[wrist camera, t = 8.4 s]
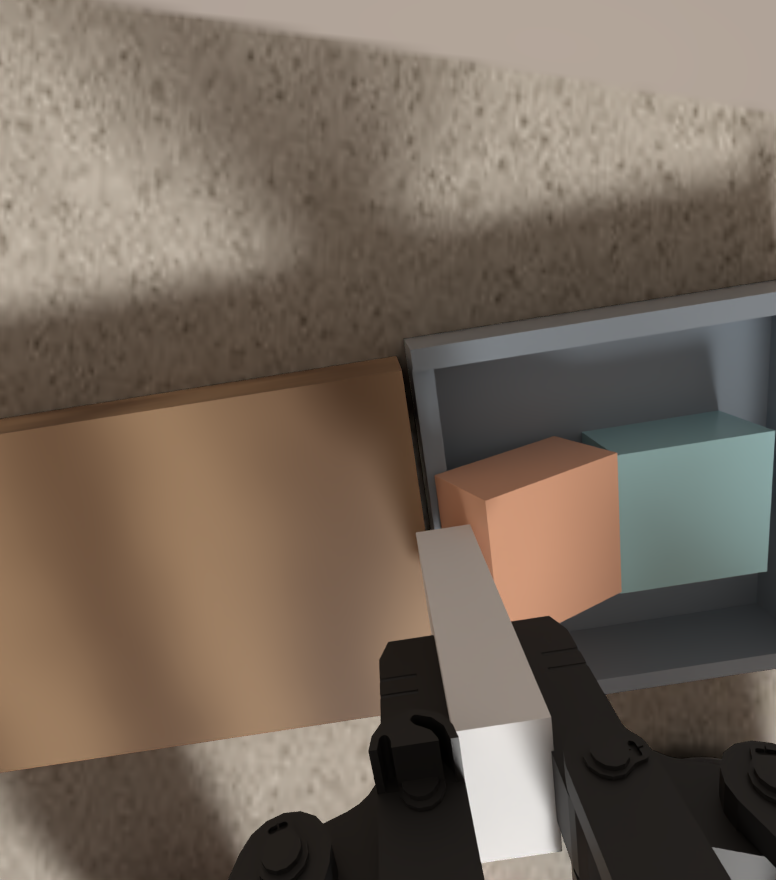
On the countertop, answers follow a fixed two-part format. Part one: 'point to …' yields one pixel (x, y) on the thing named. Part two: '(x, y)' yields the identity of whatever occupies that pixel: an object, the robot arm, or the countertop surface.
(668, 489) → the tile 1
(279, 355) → the countertop surface
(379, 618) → the tan wooden flat box
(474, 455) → the box
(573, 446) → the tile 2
